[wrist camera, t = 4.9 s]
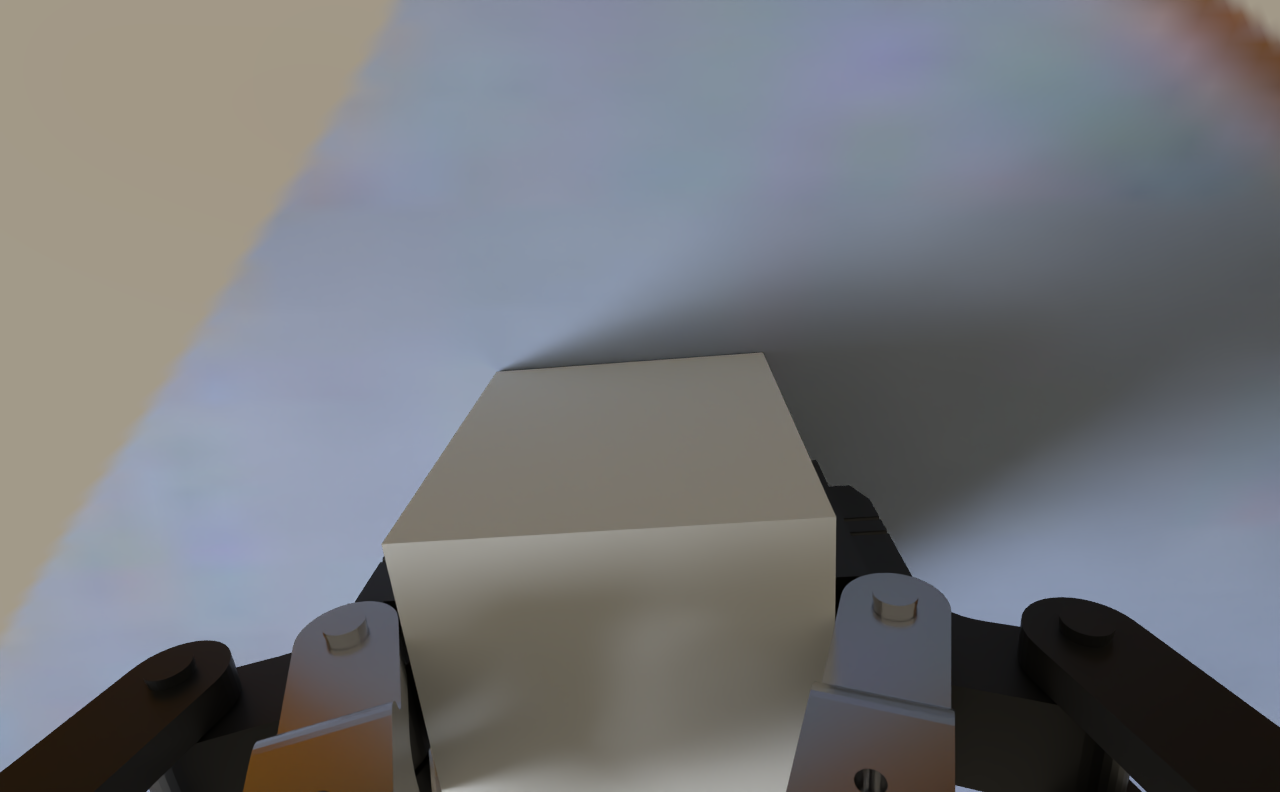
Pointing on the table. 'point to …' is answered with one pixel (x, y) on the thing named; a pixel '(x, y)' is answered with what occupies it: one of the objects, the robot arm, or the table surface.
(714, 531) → the cream cube on peg
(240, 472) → the table surface
